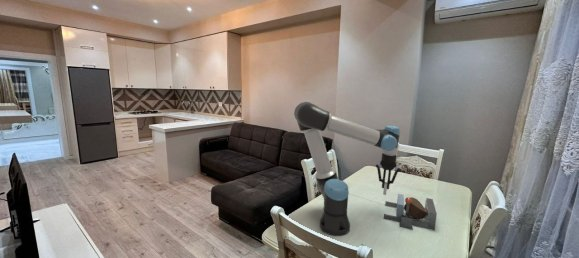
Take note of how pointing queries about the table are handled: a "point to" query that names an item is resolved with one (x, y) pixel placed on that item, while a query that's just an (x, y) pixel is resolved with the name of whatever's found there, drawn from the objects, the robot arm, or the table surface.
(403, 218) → the vise frame
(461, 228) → the table surface
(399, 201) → the vise jaw
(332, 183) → the robot arm
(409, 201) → the lever
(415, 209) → the rock
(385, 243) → the table surface
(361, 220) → the table surface
